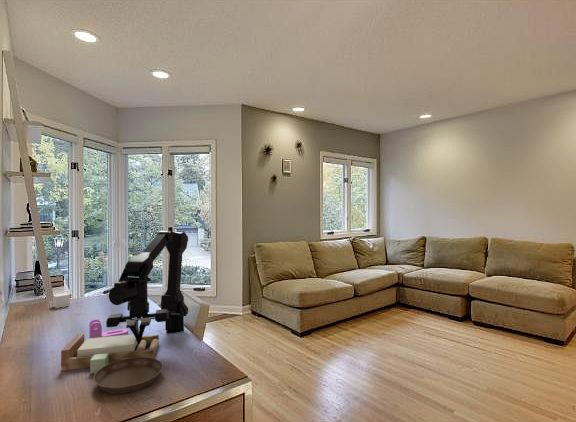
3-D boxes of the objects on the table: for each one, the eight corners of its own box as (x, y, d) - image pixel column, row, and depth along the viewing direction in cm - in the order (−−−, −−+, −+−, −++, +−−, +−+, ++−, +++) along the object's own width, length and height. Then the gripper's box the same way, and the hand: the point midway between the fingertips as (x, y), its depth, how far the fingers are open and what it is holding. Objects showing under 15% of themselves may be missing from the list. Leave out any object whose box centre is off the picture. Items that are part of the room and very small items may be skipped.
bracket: (90, 342, 122) (90, 323, 123) (89, 338, 127) (89, 319, 127) (128, 335, 130) (128, 317, 130) (126, 331, 134) (126, 314, 134)
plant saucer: (174, 379, 95) (174, 368, 95) (108, 406, 82) (108, 393, 82) (145, 361, 107) (145, 352, 107) (83, 382, 94) (83, 371, 94)
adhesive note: (52, 306, 171) (52, 294, 171) (66, 304, 175) (66, 292, 175) (55, 308, 167) (55, 296, 167) (69, 306, 171) (69, 294, 171)
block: (108, 366, 103) (108, 353, 103) (105, 372, 99) (105, 358, 99) (94, 367, 102) (94, 354, 102) (90, 373, 98) (90, 360, 98)
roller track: (159, 343, 121) (159, 326, 121) (154, 360, 107) (154, 341, 107) (77, 351, 114) (77, 334, 114) (61, 370, 100) (61, 350, 100)
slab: (138, 340, 117) (138, 333, 117) (133, 352, 108) (133, 344, 108) (86, 346, 113) (86, 338, 113) (77, 358, 103) (77, 350, 103)
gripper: (169, 289, 123) (170, 331, 123) (113, 294, 118) (114, 338, 118) (166, 296, 112) (167, 343, 112) (105, 302, 107) (106, 350, 107)
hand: (139, 343), depth 113 cm, fingers closed
